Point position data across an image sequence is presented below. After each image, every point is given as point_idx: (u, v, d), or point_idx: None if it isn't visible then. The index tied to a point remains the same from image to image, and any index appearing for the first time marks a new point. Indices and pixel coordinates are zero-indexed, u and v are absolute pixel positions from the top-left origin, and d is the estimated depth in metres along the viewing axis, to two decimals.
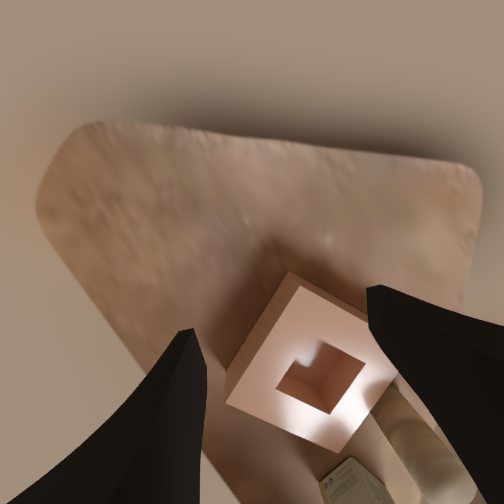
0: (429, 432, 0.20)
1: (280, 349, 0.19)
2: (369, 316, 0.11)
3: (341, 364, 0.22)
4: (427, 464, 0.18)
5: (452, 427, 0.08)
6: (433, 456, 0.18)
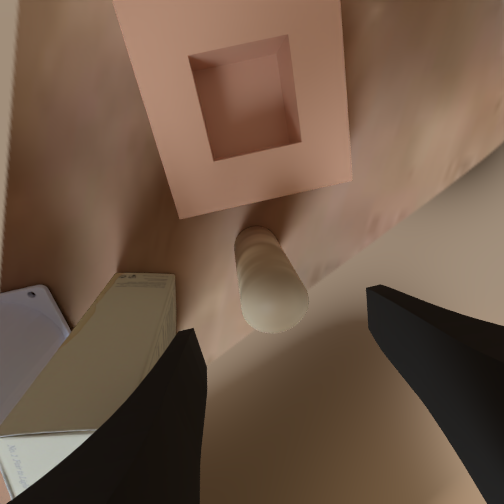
0: None
1: (241, 7, 0.13)
2: (369, 316, 0.11)
3: (264, 148, 0.17)
4: (275, 265, 0.13)
5: (452, 427, 0.08)
6: (286, 266, 0.14)
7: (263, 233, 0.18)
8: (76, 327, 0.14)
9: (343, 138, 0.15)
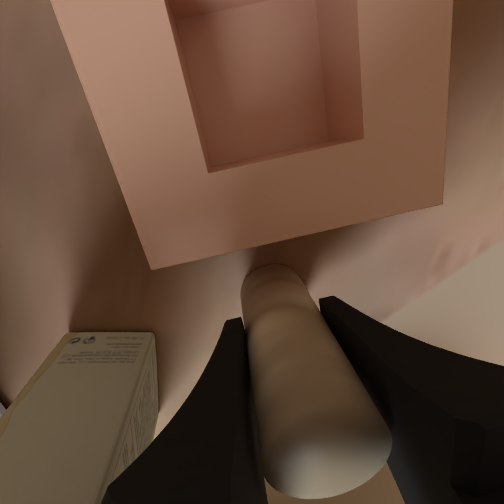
0: None
1: None
2: None
3: (292, 150, 0.10)
4: (324, 374, 0.07)
5: None
6: (343, 371, 0.07)
7: (286, 280, 0.12)
8: None
9: (435, 132, 0.09)
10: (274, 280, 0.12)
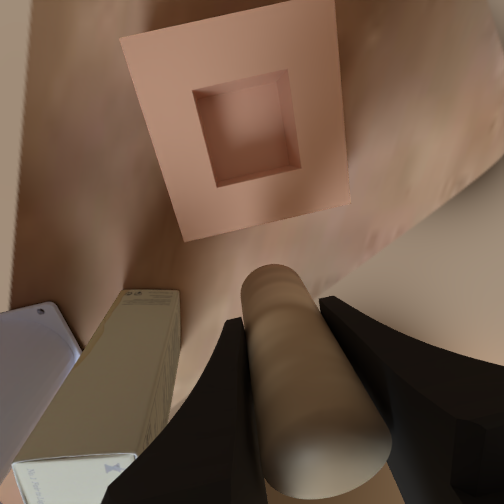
0: None
1: (242, 45, 0.13)
2: None
3: (265, 171, 0.17)
4: (324, 374, 0.07)
5: None
6: (343, 371, 0.07)
7: (286, 280, 0.12)
8: (86, 348, 0.15)
9: (341, 164, 0.16)
10: (274, 280, 0.12)
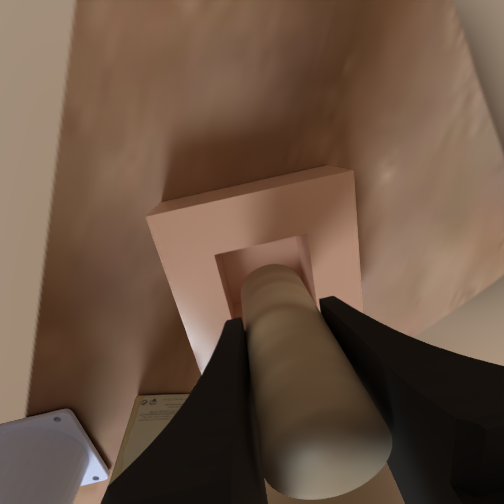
0: None
1: (264, 217, 0.14)
2: None
3: None
4: (324, 374, 0.07)
5: None
6: (343, 371, 0.07)
7: (286, 280, 0.12)
8: None
9: (356, 307, 0.16)
10: (274, 280, 0.12)
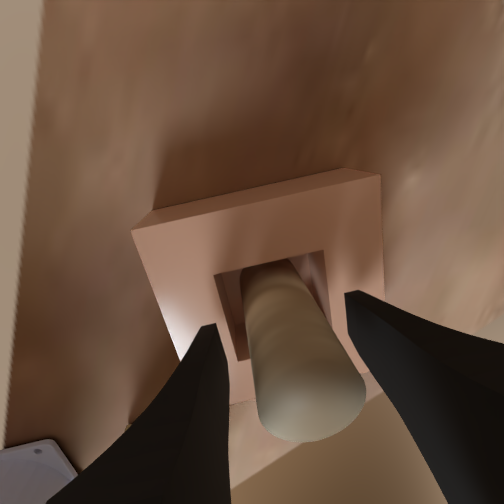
0: (326, 319, 0.11)
1: (272, 230, 0.11)
2: (348, 321, 0.11)
3: None
4: (310, 336, 0.08)
5: (421, 435, 0.08)
6: (326, 335, 0.09)
7: (280, 266, 0.13)
8: None
9: None
10: (270, 266, 0.13)
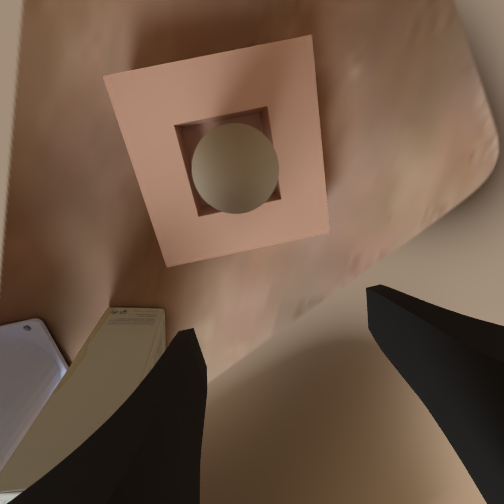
0: None
1: (223, 83, 0.14)
2: (369, 316, 0.11)
3: None
4: None
5: (452, 427, 0.08)
6: None
7: None
8: (67, 372, 0.15)
9: (320, 195, 0.16)
10: None
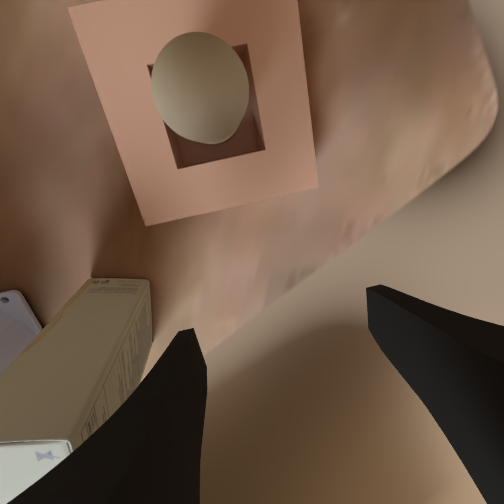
0: None
1: (198, 17, 0.13)
2: (369, 316, 0.11)
3: (233, 155, 0.17)
4: None
5: (452, 427, 0.08)
6: None
7: None
8: (39, 334, 0.14)
9: (307, 145, 0.15)
10: None
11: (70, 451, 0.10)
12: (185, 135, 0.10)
